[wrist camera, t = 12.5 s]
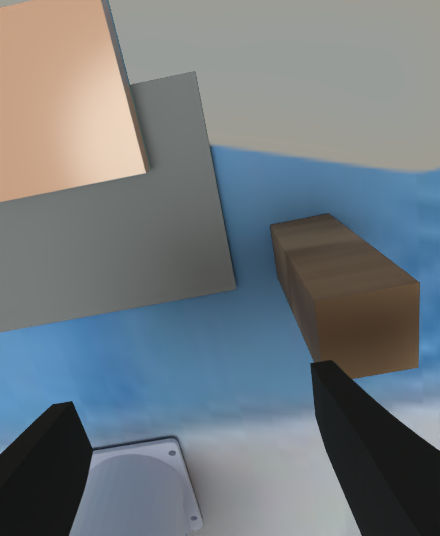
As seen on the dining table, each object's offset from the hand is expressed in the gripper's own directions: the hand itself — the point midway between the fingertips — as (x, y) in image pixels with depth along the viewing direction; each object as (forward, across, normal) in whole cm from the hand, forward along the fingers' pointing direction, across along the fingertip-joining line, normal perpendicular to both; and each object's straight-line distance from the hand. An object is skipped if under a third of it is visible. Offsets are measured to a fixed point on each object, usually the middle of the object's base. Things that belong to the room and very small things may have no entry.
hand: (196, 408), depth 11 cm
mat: (+10, +5, -4) cm, 12 cm away
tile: (+9, +5, -6) cm, 12 cm away
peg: (+10, -6, -1) cm, 12 cm away
